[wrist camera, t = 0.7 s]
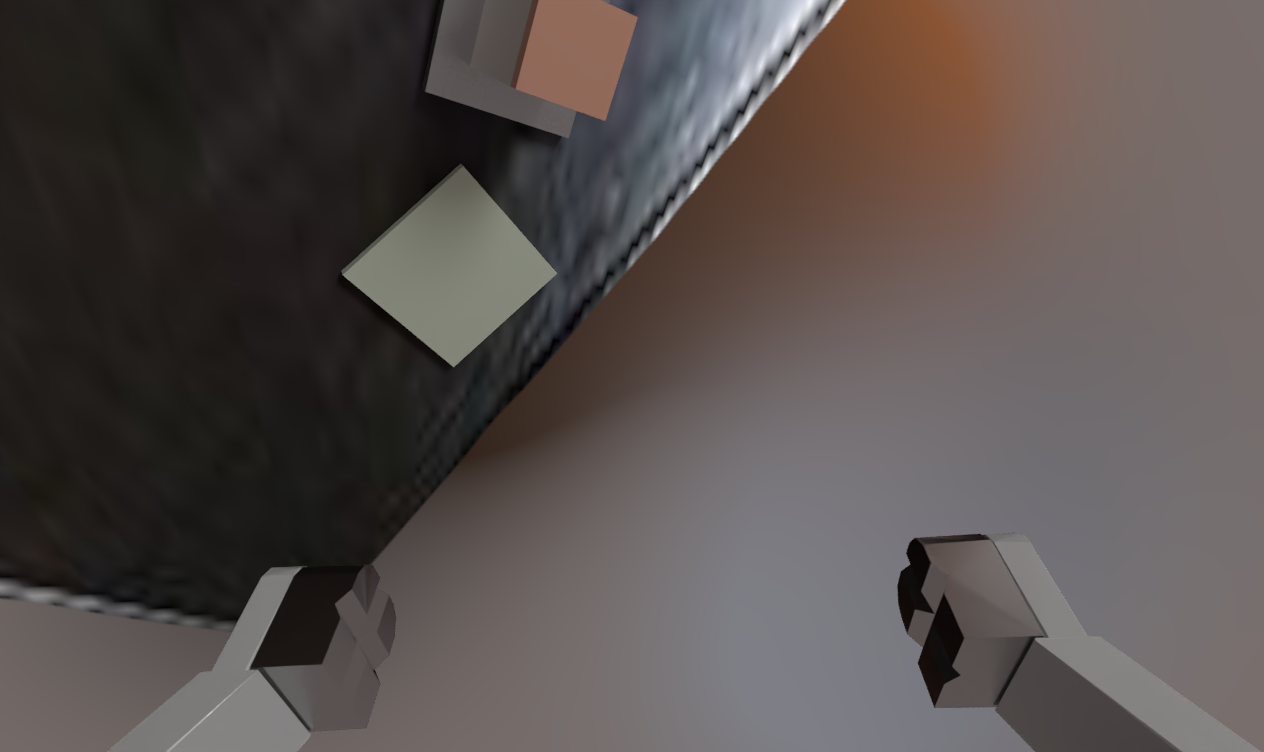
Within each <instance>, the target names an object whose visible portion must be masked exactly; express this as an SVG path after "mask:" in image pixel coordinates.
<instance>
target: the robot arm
mask: <svg viewBox="0 0 1264 752" xmlns="http://www.w3.org/2000/svg"><path fill="white" fill-rule="evenodd" d="M906 554H907V557H908V559H909V562H910V565H909V566H908V567H906V568H905V569H904V570H902V571H901V573H900V577H899V582H898V586H897V587H898V604H899V609H900V613H901V617H902V621H903V623H904V626H905V629H906V632H907V634H908V635H909V636H910V637H912V639H914V640H915V641H916V642H917V643H918V644H919V645H920V646H922V647H923V649H922V652H921V655H920V658H919V661H918V665H919V668H920V670H921V673H922V676H923V678H924V681H925V683H926V686H927V689H928V692H929V694H930V697H931V700H932V702H933V705H934V708H960V707H961V708H962V707H997V708H996V709H995V711H996V712H997V713H998V714H999V715H1000V716H1001V717H1002V718H1003V719H1004V720H1005V721H1006V722H1007V723H1008V724H1009V725H1010V726H1011V727H1012V728H1013V729H1014V730H1015V731H1016V732H1017V733H1018V734H1019V735H1020V736H1021V738H1023V740H1024V741H1026V743H1028V745H1029V746H1031V748H1032V749H1033V750H1034V751H1035V752H1261V751H1259V750H1258V749H1256V748H1255V747H1253V746H1252V745H1251V744H1249V743H1248V742H1246V741H1245V740H1244V739H1242V738H1241V737H1240V736H1238V735H1237V734H1235V733H1234V732H1232V731H1231V730H1230V729H1228V728H1227V727H1226V726H1224V725H1223V724H1221V723H1220V722H1219V721H1217V720H1216V719H1214V718H1213V717H1212V716H1210V715H1209V714H1207V713H1206V712H1205V711H1203V710H1202V709H1200V708H1199V707H1198V706H1196V705H1195V704H1193V703H1192V702H1191V701H1189V700H1188V699H1186V698H1185V697H1184V696H1182V695H1181V694H1180V693H1178V692H1177V691H1175V690H1174V689H1173V688H1171V687H1170V686H1168V685H1167V684H1166V683H1164V682H1162V681H1161V680H1160V679H1159V678H1157V677H1156V676H1154V675H1153V674H1152V673H1150V672H1149V671H1147V670H1146V669H1145V668H1143V667H1142V666H1140V665H1139V664H1137V663H1136V662H1135V661H1133V660H1132V659H1131V658H1129V657H1128V656H1126V655H1125V654H1124V653H1122V652H1121V651H1119V650H1118V649H1117V648H1115V647H1114V646H1112V645H1111V644H1109V643H1108V642H1107V641H1105V640H1104V639H1103V638H1101V637H1100V636H1087V634H1086V633H1085V631H1084V630H1083V628H1082V626H1081V625H1080V623H1079V621H1078V620H1077V618H1076V616H1075V615H1074V613H1073V612H1072V610H1071V608H1070V607H1069V605H1068V603H1067V602H1066V600H1065V598H1064V597H1063V595H1062V594H1061V592H1060V590H1059V588H1058V587H1057V585H1056V584H1055V582H1054V580H1053V579H1052V577H1051V575H1050V574H1049V572H1048V571H1047V569H1046V567H1045V566H1044V564H1043V562H1042V561H1041V559H1040V557H1039V556H1038V554H1037V553H1036V551H1035V549H1034V548H1033V546H1032V544H1031V543H1030V541H1029V539H1027V538H1026V537H1025V536H1024V535H1023V534H1021V533H1003V534H988V535H981V534H969V535H953V536H937V537H921V538H914V539H913V540H912V541H911V542H910V543H909V546H908V549H907V552H906ZM379 580H380V576H379V575H378V573H377V571H376V570H375V568H374V566H373V565H345V566H309V567H307V566H302V567H280V568H271V569H270V570H269V571H268V572H266V573H265V574H264V575H263V576H262V577H261V579H260V580H259V582H258V584H257V586H256V588H255V590H254V592H253V594H252V595H251V597H250V599H249V601H248V603H247V605H246V607H245V609H244V610H243V612H242V614H241V616H240V618H239V620H238V622H237V624H236V625H235V627H234V629H233V631H232V633H231V635H230V637H229V639H228V640H227V642H226V644H225V646H224V648H223V650H222V652H221V654H220V656H219V657H218V659H217V661H216V663H215V665H214V667H213V669H212V671H205V672H200V673H199V674H198V675H197V676H196V677H194V679H192V680H191V681H190V682H188V683H187V684H186V685H185V686H184V687H183V688H181V689H180V690H179V691H178V692H177V693H175V694H174V695H173V696H172V697H171V698H169V699H168V700H167V701H166V702H165V703H164V704H162V705H161V706H160V707H159V708H158V709H156V710H155V711H154V712H153V713H152V714H151V715H149V716H148V717H147V718H146V719H144V720H143V721H142V722H141V723H140V724H139V725H137V726H136V727H135V728H134V729H133V730H131V731H130V732H129V733H128V734H127V735H125V736H124V737H123V738H122V739H121V740H120V741H118V742H117V743H116V744H115V745H114V746H112V747H111V748H110V749H109V750H108V751H107V752H297V751H298V750H299V749H300V748H301V747H302V745H303V744H304V743H305V742H306V741H307V739H308V738H309V737H310V736H311V734H310V732H314V731H328V730H329V731H330V730H345V729H361V728H367V725H368V722H369V719H370V715H371V712H372V709H373V706H374V703H375V700H376V696H377V693H378V690H379V687H380V681H379V679H378V676H377V674H376V671H375V669H376V668H377V667H378V666H379V665H380V664H381V663H382V662H383V661H384V660H385V659H386V658H387V657H388V656H389V654H390V651H391V648H392V644H393V641H394V637H395V626H396V625H395V624H396V614H395V609H394V604H393V602H392V600H391V598H390V596H389V595H388V594H387V593H385V592H383V591H382V590H380V589H378V588H377V585H378V583H379Z"/></svg>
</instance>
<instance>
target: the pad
mask: <svg viewBox="0 0 1264 752" xmlns="http://www.w3.org/2000/svg"><path fill="white" fill-rule="evenodd" d="M341 272H342V275H343V276H344V277H345V278H347V279H348V280H349V281H350V282H352V283H353V284H354V285H355V286H356V287H358V288H359V289H360V290H361V291H362V292H364V293H365V294H366V295H367V296H368V297H370V298H371V299H372V300H373V301H374V302H376V303H377V304H378V305H379V306H380V307H382V308H383V309H384V310H385V311H386V312H388V313H389V314H390V315H391V316H393V317H394V318H395V319H396V320H397V321H399V322H400V323H401V324H402V325H403V326H405V327H406V328H407V329H408V330H409V331H411V332H412V333H413V334H414V335H415V336H417V337H418V338H419V339H420V340H421V341H423V342H424V343H425V344H426V345H427V346H429V347H430V348H431V349H432V350H434V351H435V352H436V353H437V354H438V355H440V356H441V357H442V358H443V359H444V360H446V361H447V362H448V363H449V364H450V365H452V366H453V367H454V366H456V365H457V364H458V363H459V362H460V361H461V360H462V359H463V358H464V357H465V356H467V355H468V354H469V353H470V352H471V351H472V350H473V349H474V348H475V347H476V346H478V345H479V344H480V343H481V342H482V341H483V340H484V339H485V338H486V337H488V336H489V335H490V334H491V333H492V332H493V331H494V330H495V329H496V328H497V327H499V326H500V325H501V324H502V323H503V322H504V321H505V320H506V319H507V318H509V317H510V316H511V315H512V314H513V313H514V312H515V311H516V310H517V309H518V308H520V307H521V306H522V305H523V304H524V303H525V302H526V301H527V300H528V299H529V298H531V297H532V296H533V295H534V294H535V293H536V292H537V291H538V290H539V289H541V288H542V287H543V286H544V285H545V284H546V283H547V282H548V281H549V280H550V279H552V278H553V277H554V276H555V275H556V274H557V273H556V272H555V271H554V269H553V268H552V267H551V266H550V265H549V264H548V263H547V261H546V260H545V259H544V258H543V257H542V256H541V255H540V253H539V252H538V251H537V250H536V249H535V248H534V247H533V245H532V244H531V243H530V242H529V241H528V240H527V239H526V237H525V236H524V235H523V234H522V233H521V232H520V230H519V229H518V228H517V227H516V226H515V225H514V224H513V222H512V221H511V220H510V219H509V218H508V217H507V216H506V214H505V213H504V212H503V211H502V210H501V209H500V208H499V206H498V205H497V204H496V203H495V202H494V201H493V200H492V198H491V197H490V196H489V195H488V194H487V193H486V192H485V190H484V189H483V188H482V187H481V186H480V185H479V184H478V182H477V181H476V180H475V179H474V178H473V177H472V176H471V174H470V173H469V172H468V171H467V170H466V169H465V167H464V166H463V165H462V164H461V163H460V164H459V165H458V166H457V167H456V168H455V169H454V170H453V171H452V172H451V173H449V174H448V175H447V176H446V177H445V178H444V179H443V180H442V181H441V182H439V183H438V184H437V185H436V186H435V187H434V188H433V189H432V190H431V191H429V192H428V193H427V194H426V195H425V196H424V197H423V198H422V199H421V200H420V201H418V202H417V203H416V204H415V205H414V206H413V207H412V208H411V209H410V210H408V211H407V212H406V213H405V214H404V215H403V216H402V217H401V218H400V219H398V220H397V221H396V222H395V223H394V224H393V225H392V226H391V227H390V228H389V229H387V230H386V231H385V232H384V233H383V234H382V235H381V236H380V237H379V238H377V239H376V240H375V241H374V242H373V243H372V244H371V245H370V246H369V247H368V248H366V249H365V250H364V251H363V252H362V253H361V254H360V255H359V256H358V257H356V258H355V259H354V260H353V261H352V262H351V263H350V264H349V265H348V266H346V267H345V268H344V269H343V270H342V271H341Z"/></svg>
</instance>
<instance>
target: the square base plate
mask: <svg viewBox="0 0 1264 752" xmlns="http://www.w3.org/2000/svg"><path fill="white" fill-rule="evenodd" d="M602 1H604V2H606V3H608V4H609V1H610V0H602ZM484 3H485V0H440V4H439V8H438V13H437V18H436V23H435V27H434V32H433V37H432V42H431V47H430V51H429V56H428V61H427V66H426V71H425V75H424V80H423V85H422V90H424V91H425V92H428V93H431V94H434V95H437V96H440V97H443V98H446V99H449V100H452V101H455V102H458V103H461V104H465V105H468V106H471V107H474V108H477V109H480V110H483V111H486V112H489V113H492V114H495V115H498V116H501V117H504V118H508V119H511V120H514V121H517V122H520V123H523V124H526V125H529V126H532V127H535V128H538V129H541V130H544V131H547V132H551V133H554V134H557V135H560V136H563V137H566V138H569V135H570V132H571V128H572V125H573V122H574V118H575V115H576V112H577V111H576V110H573V109H570V108H567V107H565V106H562V105H559V104H556V103H553V102H551V101H548V100H545V99H542V98H539V97H536V96H534V95H531V94H528V93H525V92H522V91H520V90H517V89H514V88H512V87H510V86H508V85H506V84H504V83H502V82H500V81H498V80H496V79H494V78H493V77H491V76H489V75H487V74H485V73H483V72H481V71H479V70H477V69H475V68H473V67H471V66H470V63H471V59H472V55H473V50H474V46H475V42H476V38H477V33H478V29H479V25H480V20H481V16H482V12H483V7H484Z"/></svg>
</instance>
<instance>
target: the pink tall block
mask: <svg viewBox="0 0 1264 752" xmlns="http://www.w3.org/2000/svg"><path fill="white" fill-rule="evenodd" d="M637 18H638V17H636V16H634V15H631V14H629V13H627V12H625V11H623V10H621V9H619V8H617V7H614V6H612V5H610V4H608V3H606V2H604V1H602V0H485V3H484V7H483V12H482V16H481V20H480V25H479V29H478V33H477V38H476V42H475V46H474V50H473V55H472V59H471V63H470V66H471V67H473V68H475V69H477V70H479V71H481V72H483V73H485V74H487V75H489V76H491V77H493V78H494V79H496V80H498V81H500V82H502V83H504V84H506V85H508V86H510V87H512V88H514V89H517V90H520V91H522V92H525V93H528V94H531V95H534V96H536V97H539V98H542V99H545V100H548V101H551V102H553V103H556V104H559V105H562V106H565V107H567V108H570V109H573V110H576V111H579V112H582V113H584V114H587V115H590V116H593V117H596V118H598V119H601V120H604V121H605V120H606V117H607V114H608V111H609V107H610V104H611V101H612V98H613V95H614V92H615V88H616V85H617V82H618V79H619V76H620V72H621V69H622V66H623V63H624V60H625V57H626V53H627V50H628V47H629V44H630V41H631V37H632V34H633V31H634V28H635V25H636V22H637Z"/></svg>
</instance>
